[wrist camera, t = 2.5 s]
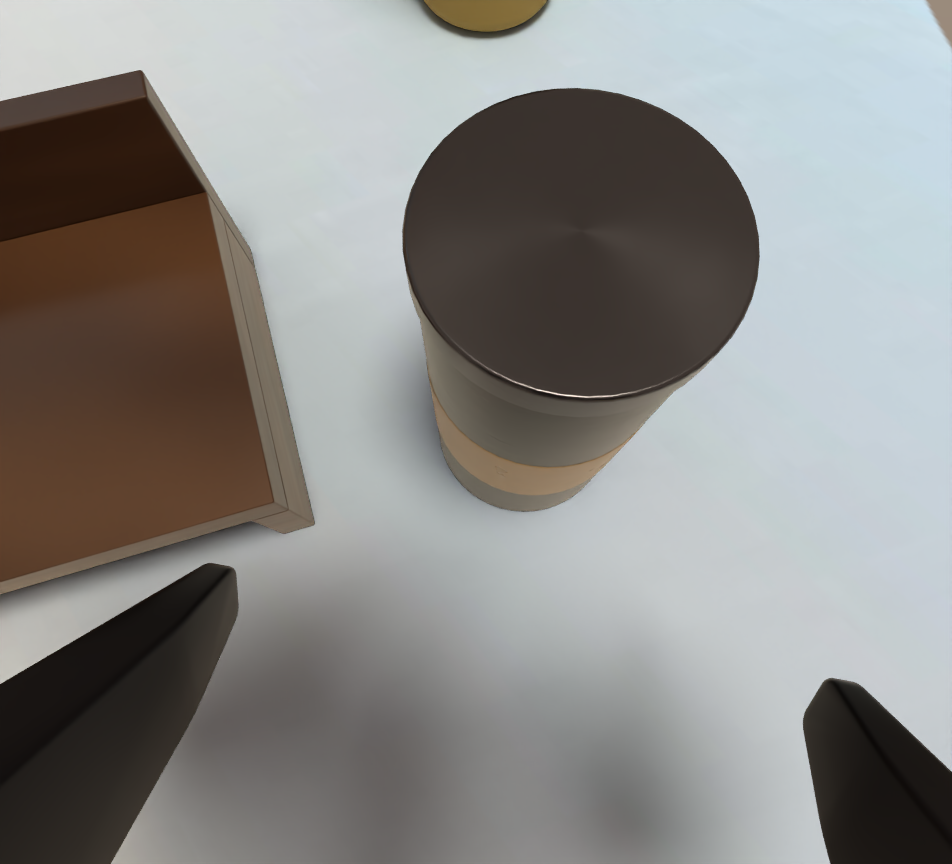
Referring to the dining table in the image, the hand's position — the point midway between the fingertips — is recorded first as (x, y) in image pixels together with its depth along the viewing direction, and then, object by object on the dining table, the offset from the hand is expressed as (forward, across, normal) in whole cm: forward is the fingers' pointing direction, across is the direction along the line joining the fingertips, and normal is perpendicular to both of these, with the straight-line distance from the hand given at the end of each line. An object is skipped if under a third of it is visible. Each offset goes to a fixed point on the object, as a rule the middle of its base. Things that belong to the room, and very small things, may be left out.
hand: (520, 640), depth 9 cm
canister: (+14, 0, +4) cm, 15 cm away
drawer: (+12, +16, +6) cm, 21 cm away
